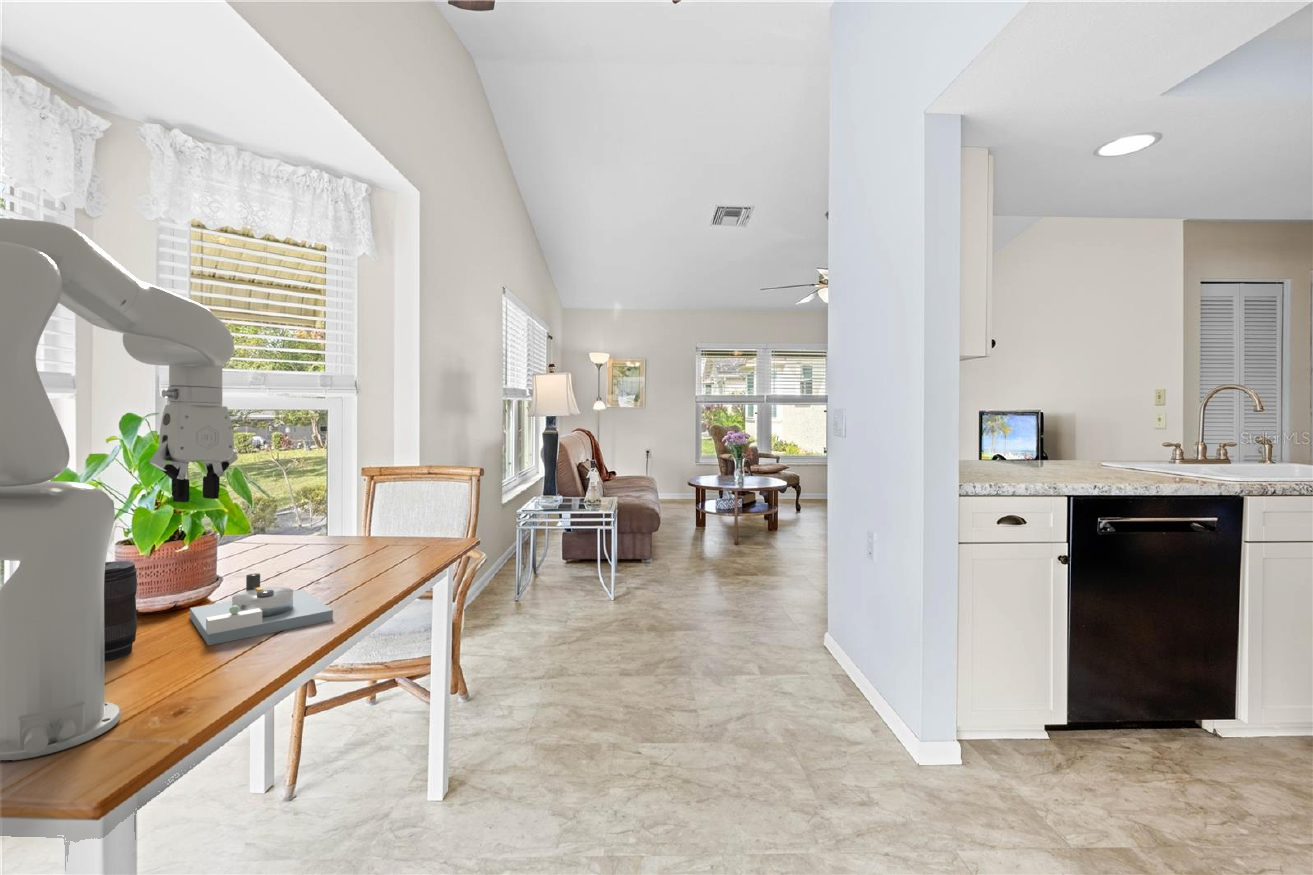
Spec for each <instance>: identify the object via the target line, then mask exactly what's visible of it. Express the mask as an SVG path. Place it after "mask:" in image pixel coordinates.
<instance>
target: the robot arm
mask: <svg viewBox="0 0 1313 875" xmlns="http://www.w3.org/2000/svg"><path fill="white" fill-rule="evenodd" d="M58 304H60V305H62V306H63V307H65V308H66V309H67V310H69V311H71V312H73V313H74V314H75V315H77V316H78V317H80V318H82V319H83V320H84V321H86V322H88V323H90V324H91V325H92V326H96V327H98V328H101V329H104V330H109V331H112V332H116V333H120V334H122V345H123V347H124V349H125V351H126V352H127V354H128V355H129V356H131V357H132V358H133V359H135V360H136V361H137V362H140V363H143V364H146V365H154V366H168V388H167V389H163V390H162V391H161V396H162V397H163V398H167V400H168V401H167V402H168V404H165V406H164V409H163V412H162V416H161V421H160V428H159V438H158V439H159V440H158V448H157V450H156V451H155V453H154V454H153V455H152V456H151V458H150V459H149V464H150V465H152V466H154V467H156V468H158V469H160V470H161V472H163V473H164V474H165V475H166V476H167V478H168V479H170V480H171V497H172V500H173V502H174V503H175V502H176V503H188V502H189V501H190V479H188V478H187V474H188V473H187V472H188V469H189V465H190V463H193V462H194V463H196V462H197V463H198V462H203V465H204V471H205V474H206V476H204V475H203V476H202V477H203V478H202V497H203V498H204V499H211V500H217V499H219V496H220V478H221V477H222V476H223V475H224V472H225V471H226V470H227V469H228V468H229V467H230V466H231V465H232V464H233V463H235V462H236V461H237V460H238V458H239V456H238V455H237V454H236V452H235V451H234V436H233V429H232V428H233V427H232V425H233V424H232V420H231V416H230V412H229V408H228V406H226V405H225V406H224V405H223V365H225V364H227V363H228V362H229V361H230V360H231V359H232V357H233V355H234V351H235V343H234V338H233V336H232V334H231V332H230V330H229V329H228V327H227V326H226V325H225V324H224V322H223V321H222V320H221V319H220V318H219V317H218V316H217V315H216V314H215V313H213V311H212V310H210V309H209V308H207V307H205V306H203V305H202V304H200V303H199V302H196V301H193V300H192V299H189V298H186V297H183V296H182V295H179V294H176V293H173V292H171V291H168V290H165V289H163V288H161V287H158V286H156V285H154V284H153V285H152V284H150V283H147V282H144V281H141V280H139V279H138V278H137V277H135V276H134V275H133V274H132V273H130V272H129V271H128V270H127V269H125V268H124V267H123V266H122V265H121V264H119V263H118V262H117V261H116V260H114V259H113V258H112V257H111V256H110V255H109V254H108V253H106V252H105V251H104V250H103V249H102V248H100V247H99V246H98V245H97V244H95V242H93V241H92V240H91V239H90V238H88V237H87V236H86V235H85V234H83V233H81V232H80V231H78V230H76V229H75V228H72V227H70V226H66V225H65V224H61V223H56V222H52V221H45V220H44V221H43V220H34V219H33V220H32V219H30V220H29V219H16V218H15V219H14V218H2V217H0V561H9V562H11V561H13V562H15V561H17V562H18V561H19V564H18V567H17V568H16V569H15V571H13V573H12V574H11V576H9V578H8V579H7V580H6V581H5V582H4V584H3V586H2V587H1V588H0V760H12V761H19V760H27V759H32V758H37V757H41V756H46V755H50V754H53V753H57V752H60V751H64V750H67V749H70V748H73V747H76V746H78V745H81V744H84V743H85V742H88V741H91V740H93V739H95V738H97V737H99V736H101V735H103V734H105V733H107V732H108V731H109V730H111V729H112V728H113V727H115V725H117V724H118V723H119V721H120V719H121V716H122V715H121V708H120V706H118V705H117V704H115V703H111V702H107V701H106V702H105V661H104V574H105V562H107V561H106V560H107V555H108V554H107V553H108V551H109V550H108V548H109V544H110V539H111V536H112V533H113V527H114V523H115V517H116V516H115V513H116V511H115V506H114V502H113V501H112V498H111V497H110V496H109V495H108V494H107V493H106V492H105V491H104V490H102V489H100V488H98V487H96V486H93V485H91V484H87V483H80V482H74V481H62V480H60V481H58V480H57V481H55V480H53V479H55V478H57V477H59V476H60V475H61V474H63V473H64V471H65V470H66V469H67V467H68V466H69V462H70V458H71V457H70V448H69V445H68V440H67V437H66V436H65V433H64V431H63V429H62V426H61V423H60V421H59V419H58V415H57V414H56V411H55V410H54V407H53V405H52V403H51V401H50V399H49V396H48V393H47V392H46V389H45V387H44V385H43V383H42V380H41V379H42V378H41V377H40V374H39V371H38V368H37V359H36V358H37V348H38V345H39V343H40V340H41V337H42V335H43V333H44V330H45V328H46V326H47V325H48V322H49V320H51V319H50V318H51V317H52V315H53V313H54V311H55V310H56V308H57V307H58ZM169 462H170V463H169ZM51 480H53V481H51Z"/></svg>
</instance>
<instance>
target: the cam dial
mask: <svg viewBox="0 0 1313 875" xmlns="http://www.w3.org/2000/svg"><path fill="white" fill-rule="evenodd" d="M245 578H246V579H245V581H246V582H245V583H246V585H245V591H242V592H239V593H237V594H234V595H232V598H231V601H232V606H234V605H237V606H239V607H240V611H246V610H252V609H257V608H259V609H260V610H262V616H269V615H274V614H278V613H281V612H284V611H287V610H289V609H291V608H292V607H293V591H294V590H293V588H290V587H284V586H282V587H281V586H280V587H279V586H276V587H275V586H272V587H261V573H259V572H258V573H249V574H246V577H245ZM240 611H239V612H240Z"/></svg>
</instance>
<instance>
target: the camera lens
mask: <svg viewBox="0 0 1313 875" xmlns="http://www.w3.org/2000/svg"><path fill="white" fill-rule="evenodd" d="M137 570H138V569H137V568H136V564H135V562H133V561H130V560H129V561H127V560H116V561H114V560H113V561H106V562H105V574H104V662H106V661H111V660H116V659H120V658H122V657H125V656H127V655H129V654H130V653H131V652H132V651H133V644H134V643H135V642H136V639H137V638H136V637H137V636H136V635H137V632H138V631H137V630H138V622H137V621H138V620H137V610H136V597H135V596H136V593H137Z"/></svg>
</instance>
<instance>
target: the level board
mask: <svg viewBox="0 0 1313 875" xmlns="http://www.w3.org/2000/svg"><path fill="white" fill-rule="evenodd" d="M239 611H240V607H239V606H237V605H234V606H232V600H230V601H224V602H218V603H213V604H212V603H211V604H207V605H200V606H193V607H189V619H190V620H191V622H192V623H193V625H194V626H195V627H196V629H197V631H198V632H199V634H200V635H201V636H202V638H203V640H204V641H205V643H206V644H207V646H212V645H219V644H222V643H228V642H233V641H236V640H237V641H238V640H243V639H246V638H247V639H248V638H253V637H257V636H261V635H267V634H272V633H277V632H282V631H285V630H290V629H295V628H296V629H297V628H300V627H305V626H310V625H316V624H320V623H326V622H330V621H333V620H334V619H333V618H334V610H333V609H332V608H331V607H329V606H328V605H326V604H325V603H323V601H320V600H319V599H318V598H317V597H315V596H314V595H313V594H311V593H310V592H308V591H306V590H305V589H296V590H293V607H292V608H291V609H289V610H287V611H284V612H281V613H278V614H274V615H269V616H262V610H260V609H259V608H257V609H252V610H246V611H240V612H239Z"/></svg>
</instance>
